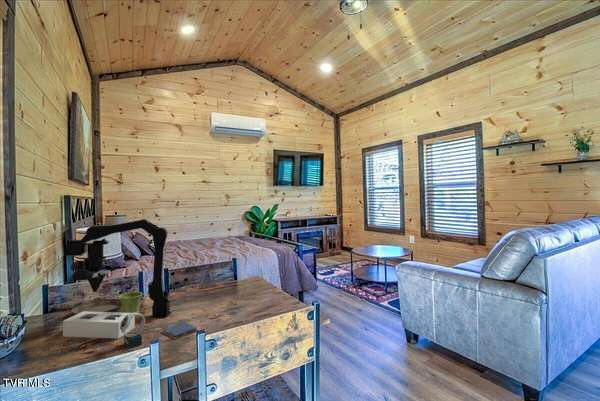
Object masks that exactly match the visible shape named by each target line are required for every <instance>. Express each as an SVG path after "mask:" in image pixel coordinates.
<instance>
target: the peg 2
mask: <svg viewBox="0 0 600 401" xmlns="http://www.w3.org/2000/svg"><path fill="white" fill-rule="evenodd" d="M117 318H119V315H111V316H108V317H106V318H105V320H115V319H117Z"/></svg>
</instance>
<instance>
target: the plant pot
mask: <svg viewBox="0 0 600 401" xmlns="http://www.w3.org/2000/svg"><path fill="white" fill-rule="evenodd" d="M142 296H143V292H141V291H131V292H126V293H122V294H120V295H119V296H118V299H119V298H120V299H121V302H122V307H121V309H122V313H139V311H140V305H141V299H142Z"/></svg>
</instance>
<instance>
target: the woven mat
mask: <svg viewBox="0 0 600 401" xmlns="http://www.w3.org/2000/svg"><path fill="white" fill-rule="evenodd" d="M198 331H199V329H198V327H197V326H195V325H194V324H190V323H189V322H187V321H183V322H181V323H179V322H178V323H177V324H174V325H171V326H169V327H168V326H167V327H163V329H162V331H161V333H163V334H164V335H166V336H169V337H170V338H171V339H173V340H176V339H179V338H182V337H184V336H189V335H190V334H193V333H196V332H198Z"/></svg>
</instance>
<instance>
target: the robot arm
mask: <svg viewBox="0 0 600 401" xmlns="http://www.w3.org/2000/svg"><path fill="white" fill-rule="evenodd" d="M140 229H141V230H144V231H145V232H146V233H148V234H149V235H150V236H152V242H153V246H154V253H153V254H154V258H153V272H152V275H153V276H152V281H149V282H148V284H147V289H148V292H147V293H146V294H147V295H148V298H149V299H150V300H152V301H153V302H152V306H151V316H150V317H151V318H156V319H157V318H158V319H161V318H162V319H165V318H167V317H168V316H170V315H171V314H172V311H170V310H171V301H170V300H169V296H170V293H169V292H167V291H166V290H165V284H164V279H163V273H164V272H163V271H164V269H163V268H164V254H165V245H166V243H167V242H166V241H167V239H168V234H169V232H168V230H167V228H165V227H164V226H163V227H161V226H160V227H159V226H158V225H157V224H154V223H153V222H150V221H149V220H148V219H146V218H142V219H140V220H139V219H137V220H133V221H129V222H122V223H117V224H97V225H96V224H95V225H93V226H92V225H91V226H89V227H88V228H87V229H86V232H85V234H84V236H83V237H82V238H81V239H67V240H66V244H65V248H64V249H63V250H64V252H63V253H64V255H65V256H66V257H80V256H82V257H83V256H84V254H87V255H86V257H85V258H84V260H83V261H82V262H78V261H74V262H72V263H70V264H71V265H70V270H71V271H72V272H73V271H74V272H73V273H72V274H71V280H72V281H88V283H89V285H90V287H91V290H92V293H96V292H97V291H98V290H99V288H100V286H101V284H102V283H103V281H104V279H105V278H106V276H107V275H108V273H105V271H110V272H115V271H116V270H117V265H116V264H114V263H104V260H106V257H107V256H104V245H109V243H110V241H108V240H107V239H106V238H104V237H108V236H109V235H112V234H118V233H122V232H130V231H134V230H140ZM101 238H102V239H101ZM99 239H101V240H99ZM91 241H92V242H91Z"/></svg>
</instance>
